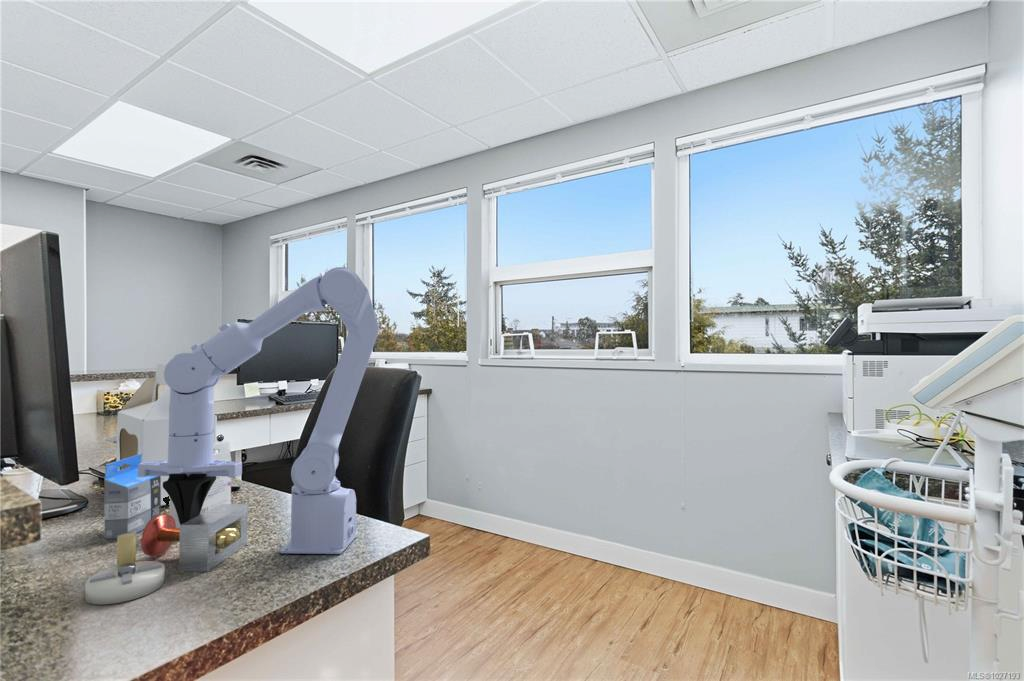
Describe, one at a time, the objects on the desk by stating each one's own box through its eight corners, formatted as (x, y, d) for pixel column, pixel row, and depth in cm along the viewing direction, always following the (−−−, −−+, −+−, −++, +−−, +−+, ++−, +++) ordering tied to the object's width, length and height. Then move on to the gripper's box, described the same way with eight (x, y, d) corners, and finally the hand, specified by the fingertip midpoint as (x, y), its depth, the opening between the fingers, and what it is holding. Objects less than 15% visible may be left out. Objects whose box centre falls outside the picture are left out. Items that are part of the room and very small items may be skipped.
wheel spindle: (139, 570, 64) (139, 563, 64) (128, 576, 63) (128, 569, 63) (125, 570, 64) (125, 563, 64) (113, 576, 63) (114, 569, 63)
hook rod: (250, 547, 77) (251, 509, 77) (227, 563, 71) (228, 522, 71) (169, 546, 77) (170, 509, 77) (140, 562, 71) (141, 521, 71)
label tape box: (127, 539, 81) (130, 463, 81) (101, 540, 81) (103, 464, 81) (161, 521, 90) (163, 453, 90) (138, 522, 89) (140, 453, 90)
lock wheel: (166, 591, 63) (167, 544, 63) (83, 611, 58) (85, 560, 58) (161, 569, 69) (163, 526, 69) (86, 585, 64) (88, 539, 64)
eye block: (246, 544, 79) (247, 503, 79) (207, 571, 69) (208, 525, 69) (221, 544, 79) (222, 503, 79) (178, 571, 69) (180, 524, 69)
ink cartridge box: (207, 519, 91) (209, 439, 91) (231, 521, 90) (233, 440, 90) (166, 536, 82) (168, 447, 83) (191, 538, 81) (194, 448, 82)
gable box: (215, 496, 106) (218, 365, 107) (140, 510, 96) (144, 366, 97) (183, 478, 121) (186, 364, 121) (114, 489, 111) (118, 364, 112)
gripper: (122, 437, 71) (119, 533, 70) (223, 438, 70) (221, 534, 70) (158, 430, 78) (156, 517, 77) (250, 430, 77) (248, 518, 77)
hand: (189, 524), depth 74 cm, fingers closed
